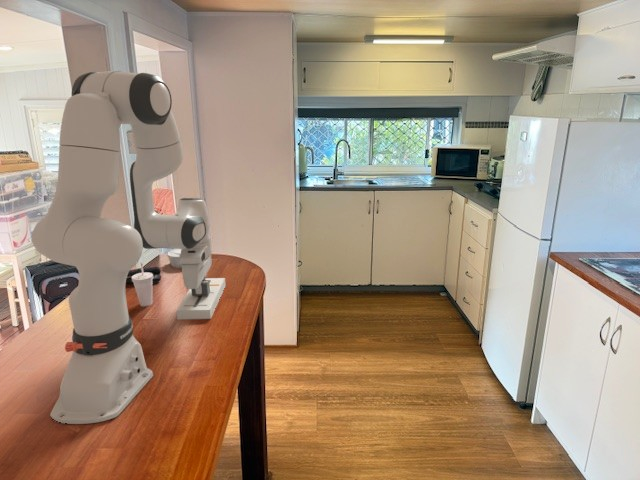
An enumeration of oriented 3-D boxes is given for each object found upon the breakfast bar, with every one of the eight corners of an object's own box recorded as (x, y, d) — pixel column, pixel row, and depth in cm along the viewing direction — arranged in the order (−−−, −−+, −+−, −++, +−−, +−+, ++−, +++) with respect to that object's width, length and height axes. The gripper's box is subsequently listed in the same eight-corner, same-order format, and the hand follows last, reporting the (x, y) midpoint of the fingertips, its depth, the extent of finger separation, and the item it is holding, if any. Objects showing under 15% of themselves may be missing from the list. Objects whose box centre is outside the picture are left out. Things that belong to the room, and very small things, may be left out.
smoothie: (160, 299, 141) (155, 259, 136) (151, 308, 134) (145, 267, 130) (141, 299, 141) (135, 259, 137) (131, 307, 135) (125, 266, 131)
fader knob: (208, 295, 135) (207, 283, 134) (191, 295, 135) (190, 283, 134) (210, 291, 138) (209, 279, 137) (194, 291, 138) (193, 280, 137)
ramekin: (165, 269, 166) (163, 257, 164) (172, 259, 177) (171, 247, 175) (195, 268, 167) (193, 255, 165) (200, 258, 177) (199, 246, 176)
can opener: (163, 277, 159) (161, 262, 158) (161, 284, 153) (159, 269, 151) (111, 281, 156) (109, 267, 154) (107, 289, 149) (104, 274, 147)
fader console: (210, 318, 128) (210, 309, 127) (177, 319, 128) (175, 310, 127) (225, 285, 151) (225, 277, 150) (197, 286, 150) (196, 278, 150)
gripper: (195, 238, 142) (199, 277, 146) (176, 260, 122) (182, 304, 127) (214, 238, 142) (217, 277, 146) (199, 260, 122) (203, 304, 127)
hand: (201, 290), depth 136 cm, fingers closed on fader knob, 3 cm apart
